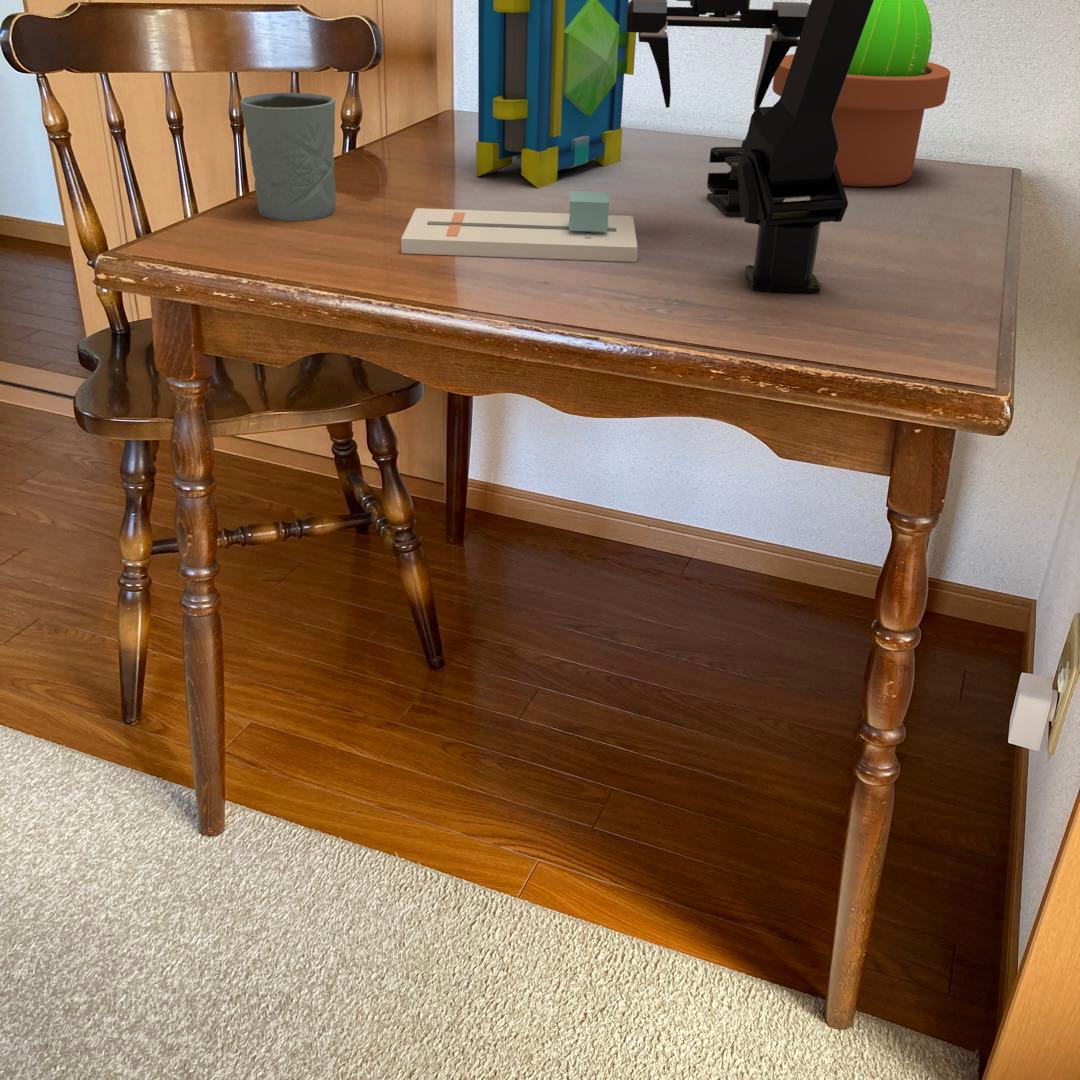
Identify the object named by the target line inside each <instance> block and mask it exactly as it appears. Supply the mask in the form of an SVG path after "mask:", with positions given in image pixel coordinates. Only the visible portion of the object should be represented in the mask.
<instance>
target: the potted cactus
mask: <svg viewBox="0 0 1080 1080" xmlns="http://www.w3.org/2000/svg"><path fill="white" fill-rule="evenodd" d="M927 7H928V8H927ZM931 9H932V5H930V6H927V5H926V3H925V1H924V0H874V2H873V4H872V7H871V10H870V13H869V15H868V18H867V21H866V24H865V27H864V29H863V32H862V35H861V38H860V41H859V43H858V46H857V49H856V52H855V54H854V57H853V60H852V63H851V66H850V68H849V71H848V74H847V77H846V79H845V82H844V85H843V88H842V91H841V93H840V96H839V99H838V102H837V105H836V107H835V110H834V114H833V122H834V126H835V130H836V134H837V138H838V142H839V149H838V153H837V157H836V161H835V163H836V166H837V169H838V172H839V176H840V179H841V182H842V185H843V187H844V186H845V187H859V188H862V187H863V188H870V187H871V188H875V187H877V188H878V187H879V188H880V187H881V188H882V187H891V186H896V185H900V184H902V183H905V182H907V181H908V180H909V179H910V178H911V177H912V175H913V170H914V166H915V160H916V154H917V148H918V144H919V139H920V134H921V128H922V124H923V118H924V114H925V110H927V109H933V108H937V107H939V106H942V105H944V103H945V101H946V97H947V94H948V93H947V92H948V88H949V83H950V77H951V71H950V69H949V68H947V67H945V66H943V65H940V64H937V63H935V62H932V60H936V59H932V58H931V59H930V56H931V50H932V45H933V44H932V42H933V32H935V29H932V23H933V22H934V21H931V18H933V17H935V14H933V15H931V16H930V13H929V10H931ZM794 54H795V53H794ZM794 54H786V56H785V57H784V59H783V61H782V62H781V64H780V66H779V67H778V69H777V71H776V72H775V75H774V77H773V79H772V88H771V89H772V91H773V92H774V93H775V94H776V95H778V96H779V97H781V95H782V92H783V89H784V85H785V82H786V79H787V76H788V73H789V70H790V67H791V63H792V60H793V57H794ZM929 61H930V62H929Z"/></svg>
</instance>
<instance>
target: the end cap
mask: <svg viewBox="0 0 1080 1080" xmlns="http://www.w3.org/2000/svg"><path fill="white" fill-rule="evenodd" d="M742 143H743V141H741V144H742ZM743 150H744V148H742V146H714V147H711V149H710V152H709V159H708V161H709V163H710V164H711V163H719V164H720V163H723V164H724V163H726V164H727V165H728V166H730V171H728V172H707V179H706V180H707V182H706V186H707V187H706V188H707V189H708V190H709V192H708V193H707V195H706V199H707V200H708V201H709V202H710V203H711V204H712V205H713V206H714V207H716V208H717V209H718V210H719V211H720V212H721V213H722V214H723V215H724V216H725V217H727V218H744V217H743V216H741V214H740V202H739V182H738V164H739V160H740V157H741V155H742V153H743ZM773 201H774V203H775V202H785V201H786V199H775V200H773Z"/></svg>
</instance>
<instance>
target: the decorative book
mask: <svg viewBox="0 0 1080 1080" xmlns="http://www.w3.org/2000/svg"><path fill="white" fill-rule="evenodd" d="M477 1H478V2H477V3H478V6H477V7H478V8H477V10H478V11H477V13H478V15H477V16H478V20H477V21H478V22H477V25H478V27H477V28H478V29H477V30H478V31H477V33H478V34H477V35H478V36H477V37H478V38H477V39H478V40H477V41H478V43H477V44H478V48H477V49H478V50H477V51H478V53H477V55H478V57H477V59H478V65H477V67H478V71H477V72H478V79H477V80H478V81H477V83H478V88H477V90H478V92H477V94H478V95H477V96H478V99H477V100H478V101H477V102H478V103H477V105H478V106H477V107H478V109H477V110H478V112H477V114H478V118H477V119H478V124H477V125H478V127H477V128H478V130H477V132H478V135H477V137H478V139H477V140H478V141H475V144H476V147H475V153H476V155H475V158H476V164H475V167H476V168H475V171H476V173H475V176H476V178H477V177H478V178H479V177H481V176H483V175H487V174H491V173H495V172H497V171H499V170H502V169H504V168H507V167H508V166H511V165H513V157H515V158H516V160H518V161H521V166H520V168H521V169H520V171H521V172H520V175H521V176H522V177H523V178H525V179H526V180H527V181H528V182H530V184H532V185H533V186H535V187H536V188H537V189H540V187H541V188H543V187H547V186H549V185H553V184H556V183H558V171H561V170H563V169H566V170H570V169H573V168H576V167H579V166H582V165H584V164H587V163H588V162H589V161H592V160H595V161H597V162H598V164H600V165H601V166H602V167H607V166H610V165H612V164H616V163H618V162H619V163H620V162H621V156H622V154H621V153H622V139H623V128H622V113H623V100H624V99H623V98H624V83H625V82H624V80H625V75H631V76H634V72H635V71H634V70H635V56H636V55H635V54H636V44H637V33H636V32H626V25H627V6H628V3H629V2H630V1H629V0H477ZM555 182H556V183H555ZM552 183H553V184H552ZM546 185H547V186H546Z"/></svg>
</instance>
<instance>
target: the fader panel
mask: <svg viewBox="0 0 1080 1080" xmlns="http://www.w3.org/2000/svg"><path fill="white" fill-rule="evenodd" d="M569 215H570V213H563V212H562V213H558V212H534V211H533V212H532V211H530V212H529V211H527V212H526V211H505V210H504V211H503V210H481V209H480V210H479V209H478V210H476V209H474V210H473V209H448V208H446V209H444V208H423V207H422V208H420V207H419V208H418V207H416V208H415V210H414V212H413V213H412V215H411V217H410V220H409V222H408V223H407V226H406V227H405V230H404V231H403V233H402V236H401V237H400V240H401V241H400V243H401V245H400V247H401V254H407V255H409V254H410V255H434V256H435V255H437V256H438V255H439V256H440V255H441V256H462V257H463V256H465V257H466V256H467V257H487V258H488V257H490V258H491V257H492V258H493V257H495V258H514V259H515V258H516V259H518V258H519V259H521V258H523V259H544V260H545V259H546V260H550V259H551V260H572V261H573V260H575V261H598V262H599V261H603V262H604V261H605V262H624V263H625V262H627V263H628V262H629V263H637V261H638V247H639V246H638V241H637V236H636V229H635V222H634V216H633V215H618V214H617V215H613V214H612V215H611V214H608V230H607V232H593V231H569Z"/></svg>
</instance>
